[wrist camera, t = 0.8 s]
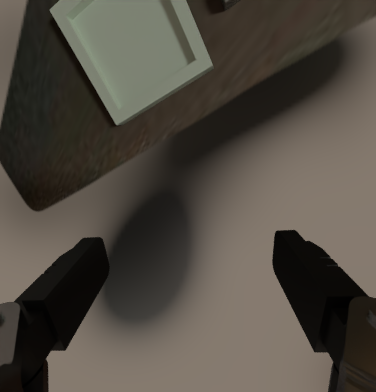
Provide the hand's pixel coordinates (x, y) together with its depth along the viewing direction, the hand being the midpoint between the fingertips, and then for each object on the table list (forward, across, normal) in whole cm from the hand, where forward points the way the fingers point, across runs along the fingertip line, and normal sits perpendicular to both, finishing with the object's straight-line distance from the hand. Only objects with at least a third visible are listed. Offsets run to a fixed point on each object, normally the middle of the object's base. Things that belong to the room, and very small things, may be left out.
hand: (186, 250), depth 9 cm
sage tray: (+23, +7, -16) cm, 29 cm away
